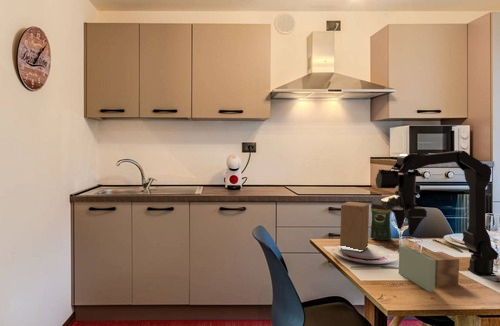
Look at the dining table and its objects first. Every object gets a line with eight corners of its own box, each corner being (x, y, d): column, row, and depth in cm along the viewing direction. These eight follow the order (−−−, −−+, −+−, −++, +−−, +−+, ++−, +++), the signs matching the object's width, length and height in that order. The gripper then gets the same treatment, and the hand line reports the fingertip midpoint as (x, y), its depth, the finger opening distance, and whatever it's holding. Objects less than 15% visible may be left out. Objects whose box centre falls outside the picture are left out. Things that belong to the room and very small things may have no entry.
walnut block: (441, 275, 125) (442, 251, 125) (458, 284, 117) (459, 259, 117) (420, 276, 124) (421, 252, 123) (436, 285, 116) (437, 260, 115)
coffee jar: (391, 238, 174) (393, 200, 173) (389, 242, 167) (391, 203, 166) (371, 235, 179) (372, 199, 178) (368, 239, 172) (369, 201, 171)
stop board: (403, 272, 127) (404, 245, 126) (434, 291, 111) (435, 259, 111) (398, 273, 127) (399, 245, 126) (428, 291, 111) (429, 260, 110)
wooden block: (362, 253, 149) (363, 206, 148) (339, 249, 154) (340, 204, 153) (368, 247, 157) (369, 203, 156) (346, 244, 163) (347, 201, 162)
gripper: (374, 185, 136) (373, 225, 136) (394, 192, 117) (393, 238, 118) (403, 185, 136) (402, 225, 136) (428, 192, 117) (426, 238, 118)
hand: (405, 231), depth 127 cm, fingers open, 9 cm apart
